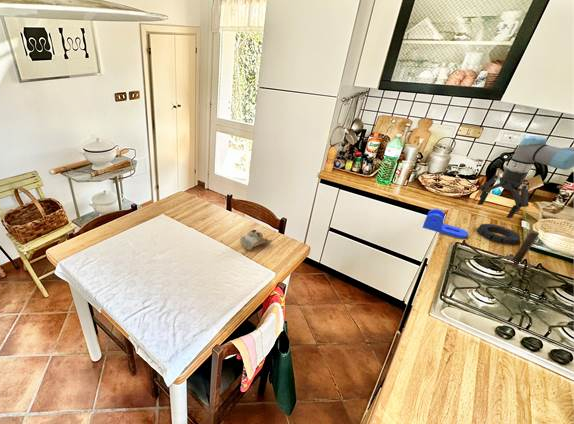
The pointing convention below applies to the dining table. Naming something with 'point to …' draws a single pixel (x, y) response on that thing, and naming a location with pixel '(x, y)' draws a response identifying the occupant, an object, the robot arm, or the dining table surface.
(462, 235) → the bracket
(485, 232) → the tape roll
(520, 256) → the peg stand
